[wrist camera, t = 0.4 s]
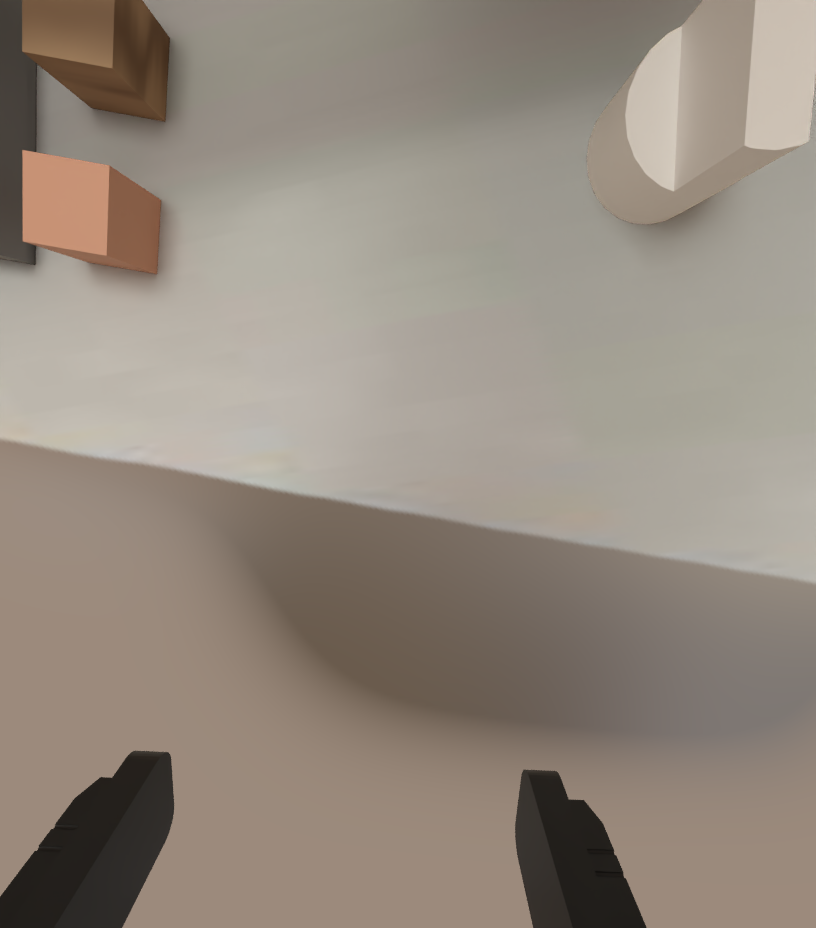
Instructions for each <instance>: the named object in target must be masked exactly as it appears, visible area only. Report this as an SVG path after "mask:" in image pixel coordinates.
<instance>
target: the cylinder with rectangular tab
mask: <svg viewBox="0 0 816 928" xmlns="http://www.w3.org/2000/svg"><path fill="white" fill-rule="evenodd" d="M815 76H816V0H702V2H701V3H700V4H699V5H698V7H697V8H696V9H695V10H694V12H693V13H692V14H691V15H690V16H689V18H688V19H687V20H686V21H685V23H684V24H683V25H682V26H681V27H679V28H677V29H675V30H673V31H671V32H669V33H668V34H667V35H666V36H665V37H663V38H662V39H661V40H660V41H659V42H658V43H657V44H656V45H655V46H654V47H653V48H651V49H650V51H649V52H648V53H647V55H646V56H645V57H644V59H643V60H642V61H641V62H640V64H639V65H638V66H637V68H636V69H635V70H634V71H633V73H632V74H631V75H630V77H629V78H628V79H627V81H626V82H625V83H624V84H623V86H622V87H621V88H620V90H619V91H618V92H617V94H616V95H615V96H614V97H613V99H612V100H611V101H610V103H609V104H608V105H607V106H606V108H605V109H604V111H603V112H602V114H601V115H600V117H599V118H598V120H597V121H596V123H595V126H594V129H593V131H592V134H591V136H590V139H589V144H588V152H587V168H588V178H589V180H590V183H591V186H592V188H593V191H594V194H595V195H596V197H597V198H598V199H599V201H600V202H601V204H602V205H603V206H604V208H606V209H607V210H608V211H609V212H611V213H612V214H613V215H615V216H616V217H617V218H620V219H622V220H625V221H627V222H630V223H634V224H647V225H649V224H654V223H659V222H664V221H666V220H668V219H670V218H672V217H674V216H676V215H678V214H680V213H682V212H684V211H686V210H687V209H689V208H691V207H693V206H695V205H696V204H698V203H700V202H702V201H704V200H706V199H707V198H709V197H711V196H713V195H715V194H716V193H718V192H720V191H722V190H724V189H725V188H727V187H729V186H731V185H733V184H734V183H736V182H738V181H739V180H740V179H742V178H744V177H746V176H747V175H749V174H751V173H753V172H755V171H756V170H758V169H760V168H762V167H764V166H765V165H767V164H769V163H771V162H773V161H774V160H776V159H778V158H780V157H782V156H783V155H785V154H787V153H789V152H791V151H792V150H794V149H796V148H798V147H800V146H801V145H803V144H805V143H807V142H809V136H810V126H811V116H812V106H813V96H814V86H815Z"/></svg>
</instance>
